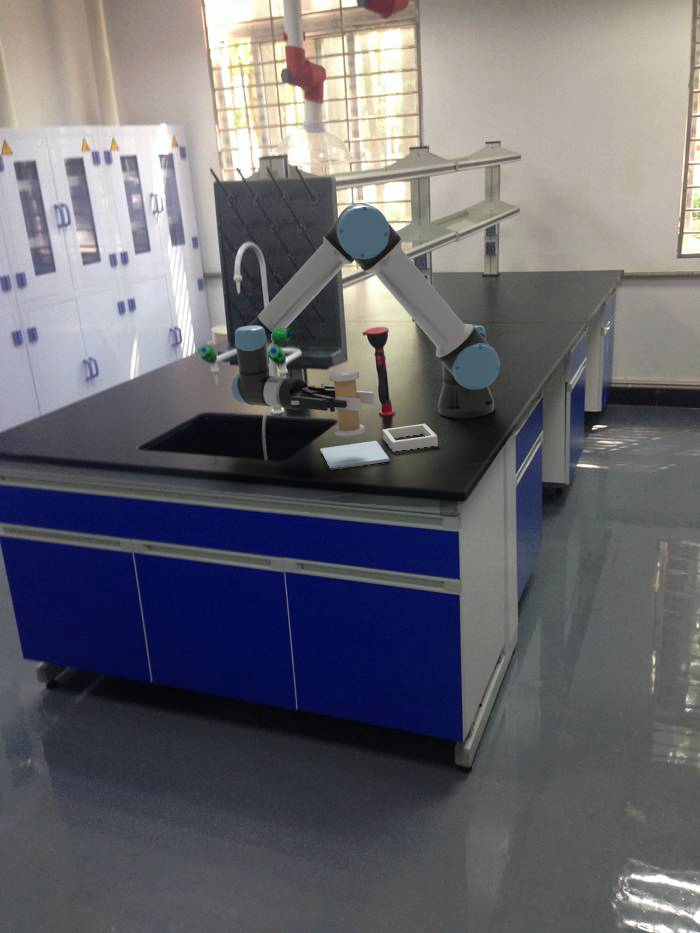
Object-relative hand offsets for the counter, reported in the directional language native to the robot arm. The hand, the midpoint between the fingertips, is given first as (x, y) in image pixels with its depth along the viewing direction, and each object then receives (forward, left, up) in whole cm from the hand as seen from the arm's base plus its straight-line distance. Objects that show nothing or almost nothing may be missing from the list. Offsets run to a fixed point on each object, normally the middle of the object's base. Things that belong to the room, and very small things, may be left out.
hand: (366, 401), depth 190 cm
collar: (-12, -9, -14) cm, 20 cm away
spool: (+4, -4, -8) cm, 10 cm away
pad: (+3, -4, -14) cm, 15 cm away
